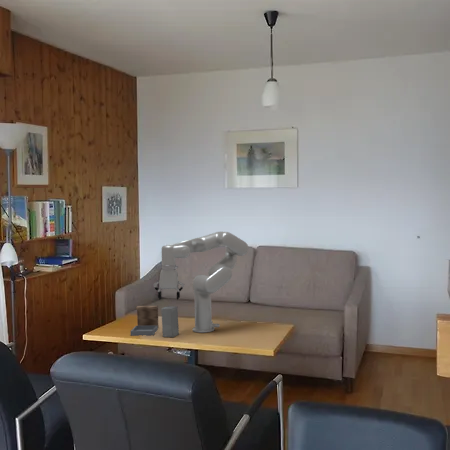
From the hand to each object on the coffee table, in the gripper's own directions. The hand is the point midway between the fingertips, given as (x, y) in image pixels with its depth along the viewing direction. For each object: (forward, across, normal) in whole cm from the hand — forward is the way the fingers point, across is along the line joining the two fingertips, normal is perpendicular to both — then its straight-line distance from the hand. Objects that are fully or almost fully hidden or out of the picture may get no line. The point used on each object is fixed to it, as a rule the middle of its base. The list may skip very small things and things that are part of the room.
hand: (169, 299), depth 299 cm
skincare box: (+20, 0, 0) cm, 20 cm away
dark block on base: (+20, +16, -16) cm, 30 cm away
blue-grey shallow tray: (+20, +16, -7) cm, 27 cm away
